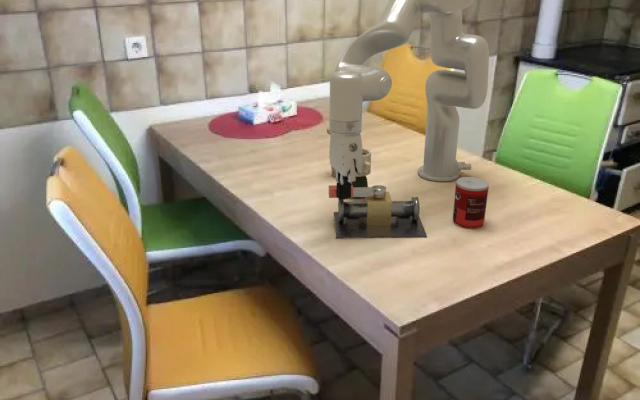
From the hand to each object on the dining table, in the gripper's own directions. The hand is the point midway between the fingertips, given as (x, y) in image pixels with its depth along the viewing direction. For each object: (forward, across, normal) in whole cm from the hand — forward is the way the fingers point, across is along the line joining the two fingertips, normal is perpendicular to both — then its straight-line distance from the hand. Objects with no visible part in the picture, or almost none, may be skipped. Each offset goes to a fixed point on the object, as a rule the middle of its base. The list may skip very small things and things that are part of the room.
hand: (343, 197), depth 144 cm
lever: (+1, +2, -5) cm, 5 cm away
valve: (+8, -2, -9) cm, 12 cm away
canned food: (+8, -9, -31) cm, 33 cm away
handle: (+8, +33, -12) cm, 36 cm away
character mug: (+8, +18, -12) cm, 23 cm away
